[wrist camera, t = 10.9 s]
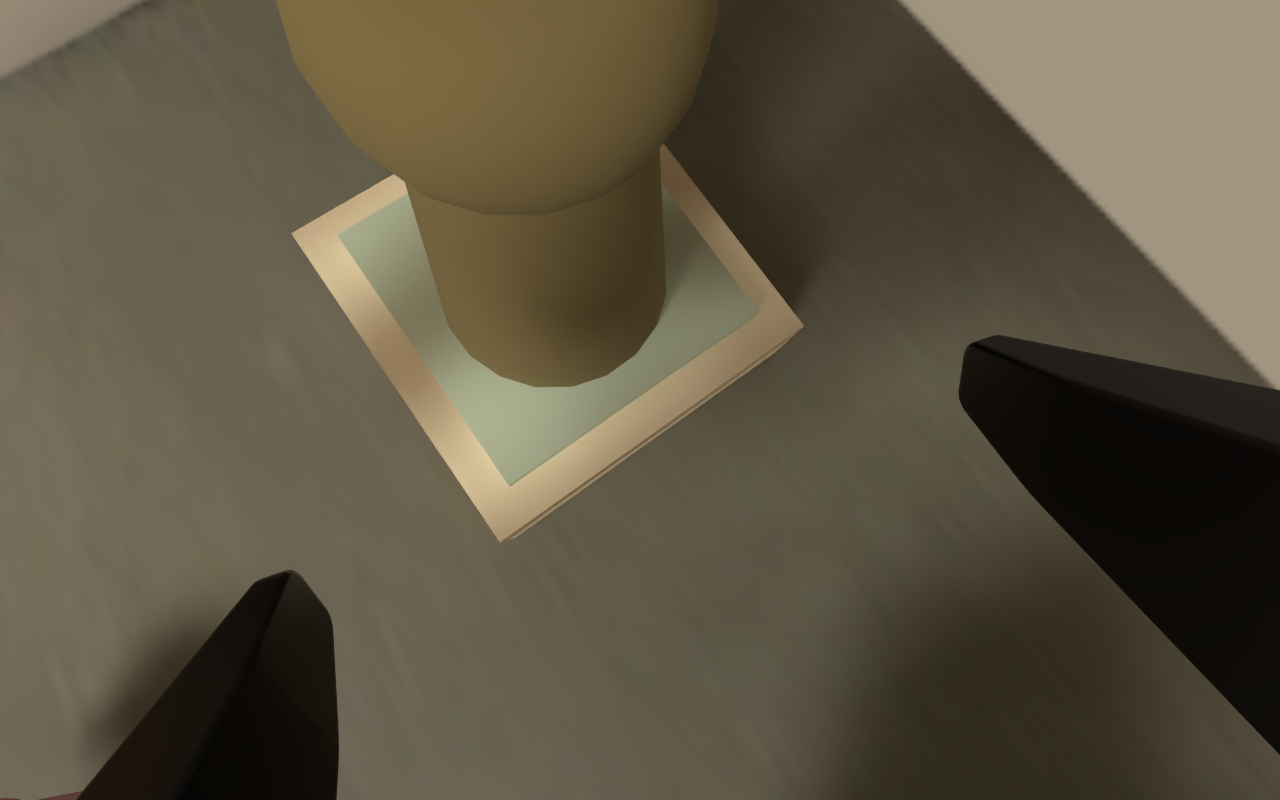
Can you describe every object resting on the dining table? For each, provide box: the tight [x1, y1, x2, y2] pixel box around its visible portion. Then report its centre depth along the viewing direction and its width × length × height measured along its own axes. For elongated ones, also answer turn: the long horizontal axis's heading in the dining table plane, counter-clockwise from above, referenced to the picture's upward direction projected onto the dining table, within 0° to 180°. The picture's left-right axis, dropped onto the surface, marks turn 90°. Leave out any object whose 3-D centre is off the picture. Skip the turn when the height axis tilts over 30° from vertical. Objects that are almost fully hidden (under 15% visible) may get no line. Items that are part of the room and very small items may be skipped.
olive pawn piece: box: [276, 0, 718, 387], centre depth 12 cm, size 6×6×11 cm
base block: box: [291, 143, 804, 542], centre depth 19 cm, size 10×10×4 cm
